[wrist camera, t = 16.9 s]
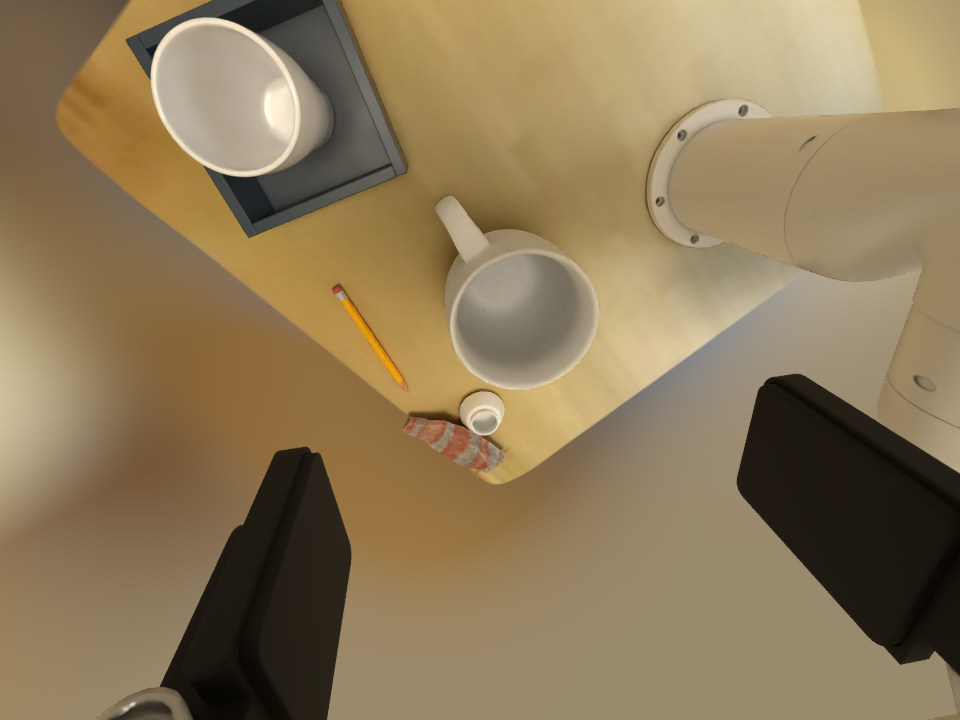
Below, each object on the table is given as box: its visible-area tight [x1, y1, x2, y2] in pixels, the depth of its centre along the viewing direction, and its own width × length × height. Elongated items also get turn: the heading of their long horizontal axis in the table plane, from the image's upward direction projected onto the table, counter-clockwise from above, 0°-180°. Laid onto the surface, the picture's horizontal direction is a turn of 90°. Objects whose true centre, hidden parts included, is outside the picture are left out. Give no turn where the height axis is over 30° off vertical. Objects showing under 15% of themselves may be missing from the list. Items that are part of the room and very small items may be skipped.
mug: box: [435, 196, 599, 390], centre depth 36 cm, size 15×11×13 cm
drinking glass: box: [151, 17, 335, 177], centre depth 28 cm, size 7×7×15 cm
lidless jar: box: [459, 391, 505, 435], centre depth 48 cm, size 5×3×5 cm
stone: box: [403, 417, 506, 472], centre depth 50 cm, size 12×2×5 cm
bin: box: [126, 0, 408, 238], centre depth 32 cm, size 13×13×7 cm
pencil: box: [332, 285, 409, 393], centre depth 44 cm, size 1×13×1 cm, turn 26°
